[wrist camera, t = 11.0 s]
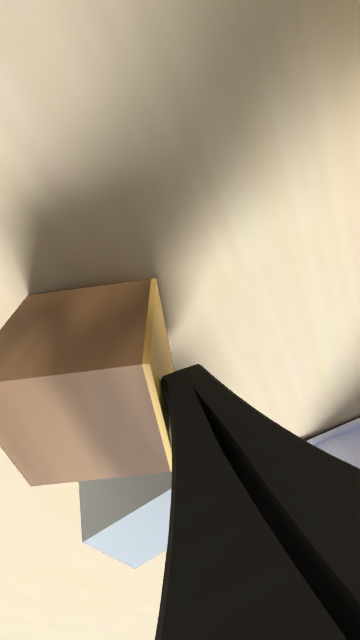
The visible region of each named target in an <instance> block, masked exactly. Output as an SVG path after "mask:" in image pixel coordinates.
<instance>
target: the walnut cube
mask: <svg viewBox="0 0 360 640" xmlns="http://www.w3.org/2000/svg"><path fill="white" fill-rule="evenodd" d="M173 372H174V368H173V363H172V358H171V353H170V347H169V342H168V337H167V332H166V327H165V321H164V316H163V311H162V306H161V301H160V295H159V290H158V285H157V280H156V278H153V279H145V280H138V281H130V282H123V283H115V284H108V285H100V286H93V287H86V288H78V289H71V290H63V291H56V292H48V293H41V294H33V295H28V296H27V297H26V298H25V300H24V301H23V302H22V303H21V305H20V306H19V307H18V308H17V310H16V311H15V312H14V313H13V315H12V316H11V317H10V318H9V320H8V321H7V322H6V323H5V325H4V326H3V327H2V328H1V330H0V447H1V448H2V449H3V451H4V452H5V453H6V455H7V456H8V457H9V459H10V460H11V461H12V462H13V464H14V465H15V466H16V468H17V469H18V470H19V471H20V473H21V474H22V475H23V477H24V478H25V479H26V481H27V482H28V483H29V484H30V486H39V485H48V484H58V483H67V482H77V481H86V480H96V479H105V478H115V477H125V476H134V475H144V474H153V473H163V472H172V445H171V426H170V417H169V413H168V408H167V404H166V400H165V395H164V391H163V387H162V382H161V379H162V377H163V376H164V375H167V374H170V373H173Z"/></svg>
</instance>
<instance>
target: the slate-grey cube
mask: <svg viewBox="0 0 360 640" xmlns="http://www.w3.org/2000/svg"><path fill="white" fill-rule="evenodd" d="M171 484H172V472H163V473H153V474H144V475H134V476H125V477H115V478H105V479H96V480H86V481H79V495H80V511H81V527H82V542H83V543H85V544H87V545H89V546H91V547H93V548H95V549H97V550H99V551H101V552H103V553H105V554H107V555H108V556H110V557H112V558H114V559H116V560H118V561H120V562H122V563H124V564H126V565H128V566H130V567H132V568H134V569H136V568H137V567H139V566H141V565H142V564H144V563H145V562H147V561H149V560H150V559H152V558H154V557H155V556H157V555H158V554H160V553H162V552H163V551H165V550H167V544H168V533H169V519H170V505H171Z"/></svg>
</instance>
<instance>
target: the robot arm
mask: <svg viewBox="0 0 360 640" xmlns="http://www.w3.org/2000/svg"><path fill="white" fill-rule="evenodd" d="M161 382H162V387H163V391H164V395H165V400H166V404H167V408H168V413H169V417H170V426H171V445H172V484H171V505H170V519H169V533H168V544H167V553H166V562H165V570H164V578H163V587H162V595H161V603H160V610H159V617H158V623H157V630H156V636H155V640H360V418H358V419H355V420H353V421H351V422H348V423H346V424H344V425H341V426H339V427H337V428H334V429H332V430H330V431H327V432H325V433H323V434H321V435H318V436H316V437H314V438H311V439H309V440H307V441H305V440H303V439H302V438H300V437H298V436H296V435H295V434H293V433H291V432H290V431H288V430H286V429H285V428H283V427H282V426H280V425H279V424H277V423H275V422H274V421H272V420H271V419H269V418H268V417H266V416H265V415H263V414H262V413H260V412H259V411H258V410H256V409H255V408H253V407H252V406H251V405H249V404H248V403H247V402H245V401H244V400H243V399H241V398H240V397H238V396H237V395H236V394H235V393H233V392H232V391H231V390H229V389H228V388H227V387H226V386H225V385H223V384H222V383H221V382H220V381H218V380H217V379H216V378H215V377H214V376H213V375H211V374H210V373H209V372H208V371H207V370H206V369H205V368H204V367H203V366H201V365H199V364H196V365H193V366H191V367H188V368H185V369H182V370H179V371H176V372H173V373H170V374H167V375H164V376H163V377H162V379H161Z"/></svg>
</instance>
